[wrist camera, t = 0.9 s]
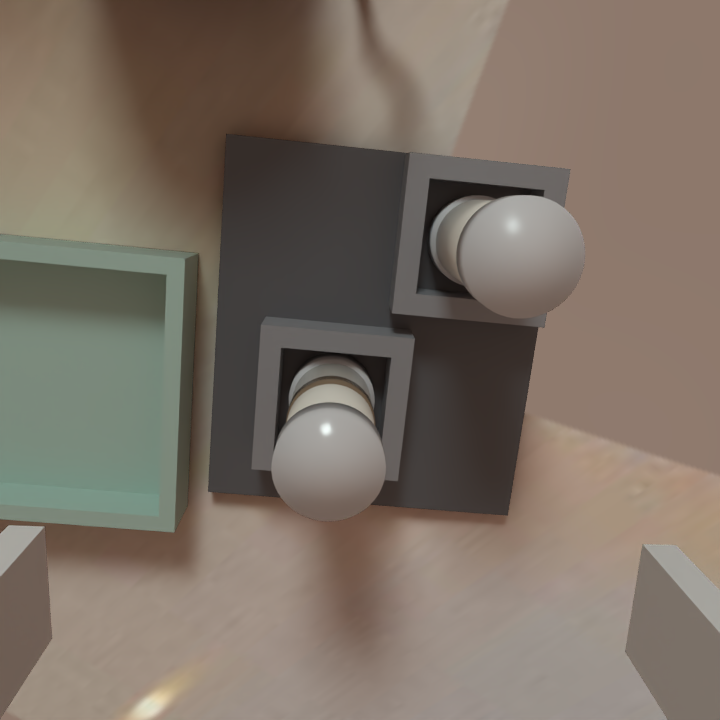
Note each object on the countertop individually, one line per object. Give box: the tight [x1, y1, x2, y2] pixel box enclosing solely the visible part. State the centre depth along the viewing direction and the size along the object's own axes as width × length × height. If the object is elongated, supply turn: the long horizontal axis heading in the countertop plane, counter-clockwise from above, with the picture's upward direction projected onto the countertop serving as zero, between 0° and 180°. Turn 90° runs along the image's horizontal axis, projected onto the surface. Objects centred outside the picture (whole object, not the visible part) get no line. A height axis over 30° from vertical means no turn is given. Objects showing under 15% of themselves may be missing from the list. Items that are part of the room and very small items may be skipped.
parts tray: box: [0, 234, 199, 532], centre depth 33 cm, size 14×14×3 cm
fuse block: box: [208, 134, 585, 515], centre depth 30 cm, size 16×18×11 cm
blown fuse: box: [271, 352, 386, 521], centre depth 30 cm, size 4×4×10 cm
